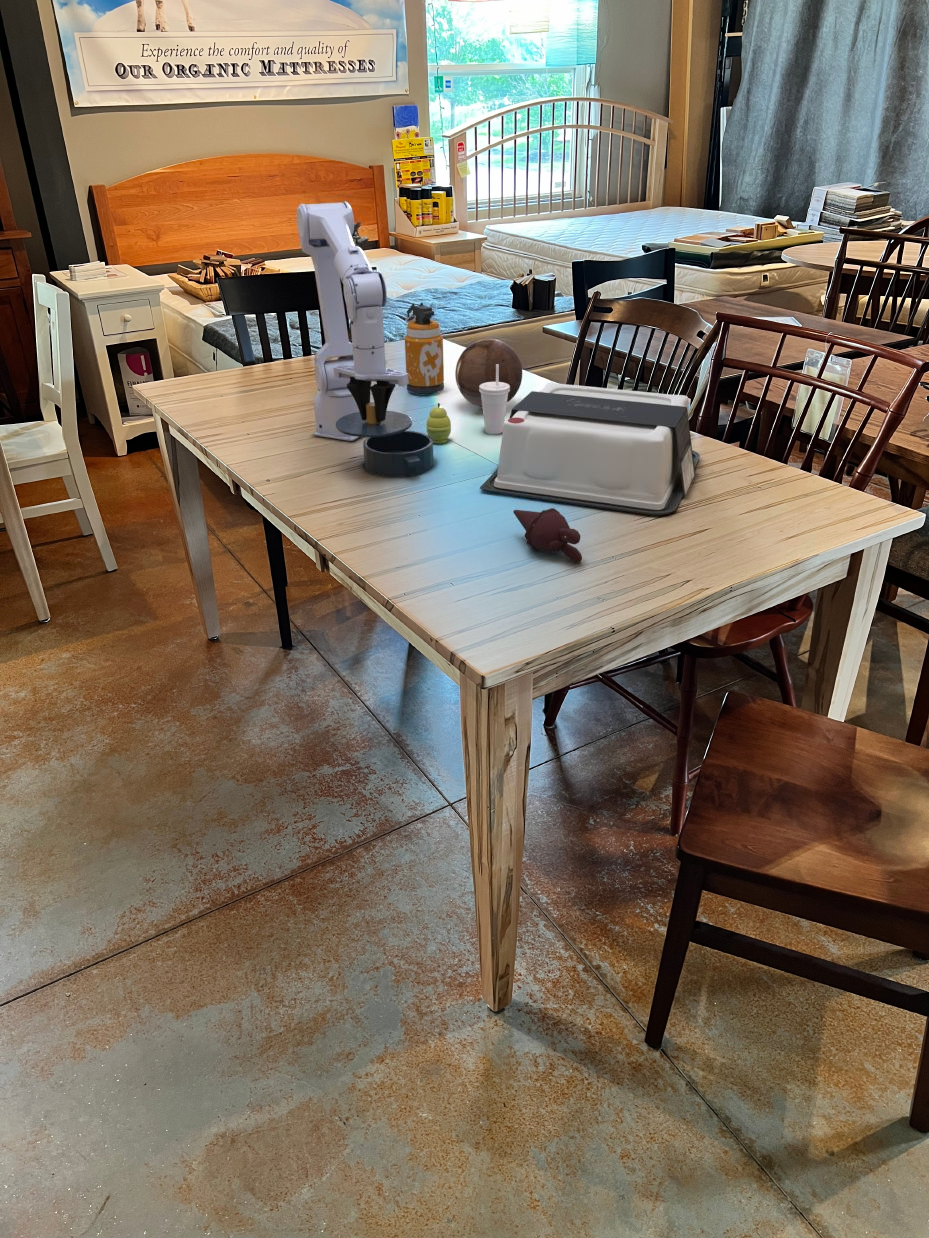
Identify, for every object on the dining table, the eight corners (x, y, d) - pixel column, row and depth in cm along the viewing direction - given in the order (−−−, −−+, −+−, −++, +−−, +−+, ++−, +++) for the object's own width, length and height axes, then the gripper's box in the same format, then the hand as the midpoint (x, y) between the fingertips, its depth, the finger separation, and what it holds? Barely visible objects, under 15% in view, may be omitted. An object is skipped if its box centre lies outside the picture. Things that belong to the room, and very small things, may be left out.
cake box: (477, 492, 155) (477, 424, 148) (533, 434, 181) (535, 375, 175) (674, 520, 144) (683, 448, 137) (703, 454, 170) (712, 391, 163)
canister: (416, 398, 204) (412, 310, 194) (397, 387, 212) (393, 301, 202) (450, 393, 208) (448, 306, 197) (430, 382, 216) (427, 298, 206)
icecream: (493, 504, 134) (559, 544, 125) (529, 482, 137) (596, 520, 128) (499, 539, 139) (563, 580, 130) (533, 516, 142) (598, 555, 132)
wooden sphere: (525, 398, 203) (526, 332, 195) (517, 418, 190) (518, 349, 183) (462, 396, 205) (461, 331, 198) (450, 415, 193) (448, 347, 185)
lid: (348, 445, 154) (346, 420, 152) (327, 421, 165) (325, 398, 163) (423, 434, 159) (422, 409, 156) (397, 412, 170) (396, 389, 168)
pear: (422, 443, 178) (421, 404, 173) (433, 435, 181) (432, 398, 177) (444, 446, 176) (443, 407, 172) (455, 438, 180) (454, 400, 175)
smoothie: (506, 437, 180) (507, 369, 173) (476, 435, 181) (476, 368, 174) (511, 427, 185) (512, 361, 178) (482, 425, 187) (482, 360, 179)
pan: (381, 486, 158) (379, 463, 156) (352, 453, 173) (351, 431, 170) (448, 475, 162) (448, 452, 160) (415, 444, 177) (414, 423, 175)
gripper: (321, 346, 154) (328, 421, 161) (393, 354, 148) (397, 431, 155) (342, 338, 159) (348, 410, 166) (412, 345, 154) (415, 419, 161)
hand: (373, 419), depth 161 cm, fingers closed on lid, 2 cm apart
